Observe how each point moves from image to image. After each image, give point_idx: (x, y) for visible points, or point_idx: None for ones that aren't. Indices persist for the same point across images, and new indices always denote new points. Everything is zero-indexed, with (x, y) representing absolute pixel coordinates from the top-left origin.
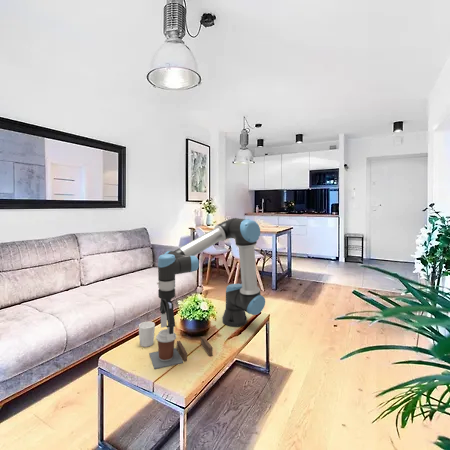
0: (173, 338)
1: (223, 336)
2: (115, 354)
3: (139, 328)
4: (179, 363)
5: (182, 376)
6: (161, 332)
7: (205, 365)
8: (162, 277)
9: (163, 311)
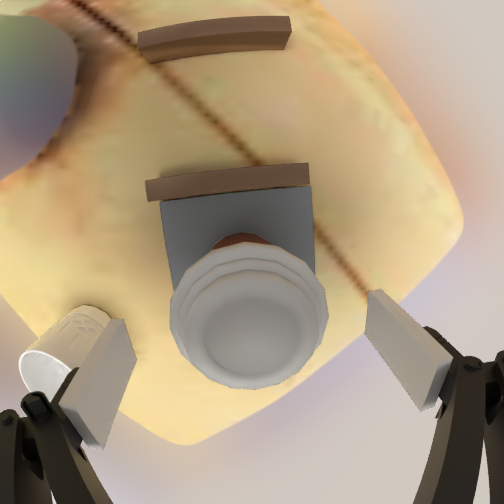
0: (384, 296)
1: None
2: (168, 426)
3: None
4: (311, 206)
5: (397, 212)
6: (230, 370)
7: (354, 93)
8: None
9: (84, 462)
